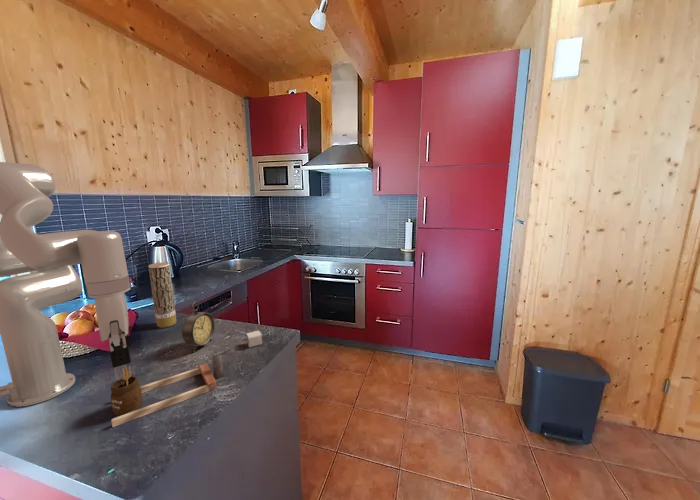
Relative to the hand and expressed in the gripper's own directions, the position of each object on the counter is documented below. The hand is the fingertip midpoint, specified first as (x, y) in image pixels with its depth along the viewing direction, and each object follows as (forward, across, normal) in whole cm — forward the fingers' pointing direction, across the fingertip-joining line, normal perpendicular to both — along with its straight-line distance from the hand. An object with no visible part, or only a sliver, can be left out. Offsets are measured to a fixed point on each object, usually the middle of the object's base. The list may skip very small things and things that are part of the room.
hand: (122, 355), depth 69 cm
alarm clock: (+14, -23, +19) cm, 33 cm away
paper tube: (+13, -50, +12) cm, 53 cm away
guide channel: (+14, -1, +9) cm, 17 cm away
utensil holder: (+14, -1, -1) cm, 14 cm away
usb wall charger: (+15, -13, +33) cm, 39 cm away
